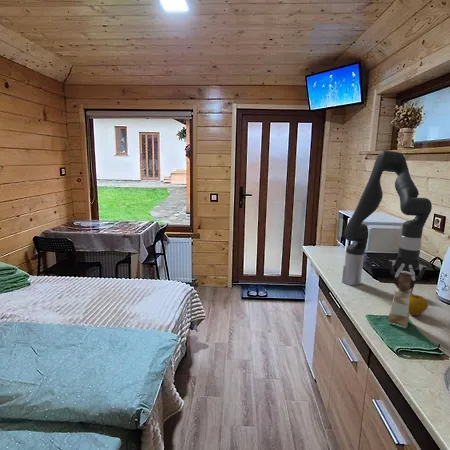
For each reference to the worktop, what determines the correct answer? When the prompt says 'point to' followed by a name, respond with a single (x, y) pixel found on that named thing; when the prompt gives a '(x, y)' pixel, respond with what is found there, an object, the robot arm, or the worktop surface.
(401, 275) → the walnut cylinder
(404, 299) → the tower top
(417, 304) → the apple
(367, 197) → the robot arm
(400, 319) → the tower base
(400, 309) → the tower mid
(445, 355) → the worktop surface
